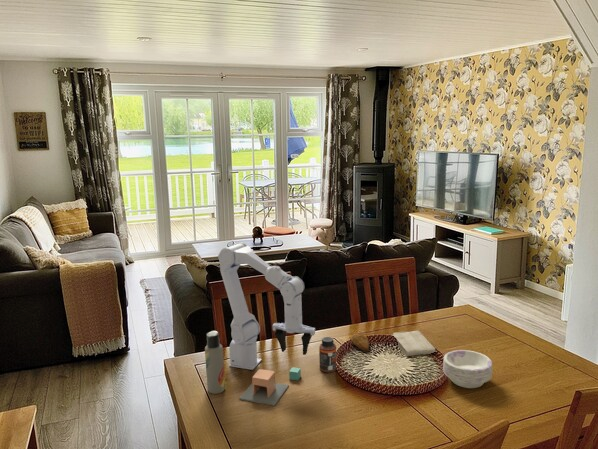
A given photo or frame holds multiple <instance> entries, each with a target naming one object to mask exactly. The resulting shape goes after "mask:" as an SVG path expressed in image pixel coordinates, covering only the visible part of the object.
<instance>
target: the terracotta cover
mask: <svg viewBox="0 0 598 449" xmlns="http://www.w3.org/2000/svg"><path fill="white" fill-rule="evenodd" d="M251 380H252V381H251V382H252V383H253V394H254V395H255V393H256V392H257V391H258V390H259V389H260V387H265V388H267V397H269V396H270V395H271V394H272V393H273V391H274V390H275V389H276V384H275V383H276V371H273V370H268V369H261V368H259V369H258V370H257V371H256V372H255V373H254V375H252V378H251ZM252 383H251V384H252Z"/></svg>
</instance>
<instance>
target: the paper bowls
mask: <svg viewBox="0 0 598 449" xmlns="http://www.w3.org/2000/svg"><path fill="white" fill-rule="evenodd" d="M442 367H443V368H442V371H443V373H444V375H445V376H446V377H447V378H449V379H450V380H451V382H453V384H455V385H456V386H459V387H461V388H464V389H465V388H466V389H477V388H480V387H481V386H483V385H484V383H487V382H490V380H491V379H492V377H493V361H492V359H490V358H489V357H488V356H487V355H485V354H484V353H480V352H479V351H478V352H477V351H473V350H468V349H467V350H466V349H458V350H457V349H456V350H452V351H449V352H447V353H445V354H444V356H443V364H442Z"/></svg>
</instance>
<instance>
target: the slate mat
mask: <svg viewBox="0 0 598 449" xmlns="http://www.w3.org/2000/svg"><path fill="white" fill-rule="evenodd" d="M275 384H276V389H275V390H274V391H273V393H272V394H271V395H270V396H269V397H267V388H265V387H260V389H259V390H258V391H257V392H256V393H255V395H254V394H253V383H251V384H250V385H249V386H248V388H247V389H246V390H245V391H244V392H243V393H242V394H241V396H239V400H241V401H245V402H252V403H257V404H262V405H267V406H272V407H275V406H276V405H277V403H278V402H279V400H280V399H281V398H282V397H283V395H284V394H285V392H286V391H287V390H288V388H290V387H289V384H286V383H279V382H275Z"/></svg>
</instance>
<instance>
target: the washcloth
mask: <svg viewBox="0 0 598 449" xmlns="http://www.w3.org/2000/svg"><path fill="white" fill-rule="evenodd" d="M392 336H394V337H395V338H396V339H397V342H398V345H397V346H398V348H399V349H400V351H402V352H403V355H405V356H407V357H410V356H411V357H412V356H413V357H414V356H422V355H423V356H424V355H432V354H431V353H433V352H436V353H437V351H436V348H435V347H434V346H433V345H432V344H431V343H430V342H429V340H428V339H427V338H426V337H425V336H424V334H423V333H422V332H420V330H412V331H397V332H393V333H392V335H391V337H392Z"/></svg>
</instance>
